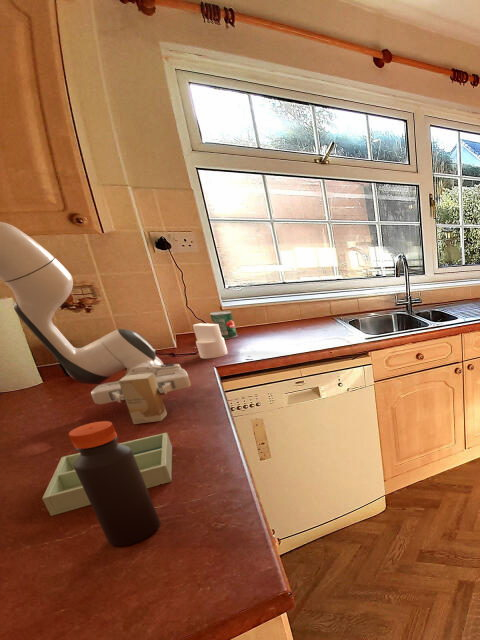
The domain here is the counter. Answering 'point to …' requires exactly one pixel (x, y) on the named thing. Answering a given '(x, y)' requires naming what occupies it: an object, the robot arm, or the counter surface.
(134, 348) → the robot arm
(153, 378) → the cosmetic box
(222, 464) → the counter surface
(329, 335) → the counter surface
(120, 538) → the bottle
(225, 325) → the canned tomato
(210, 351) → the base with upright slab
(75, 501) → the grid
